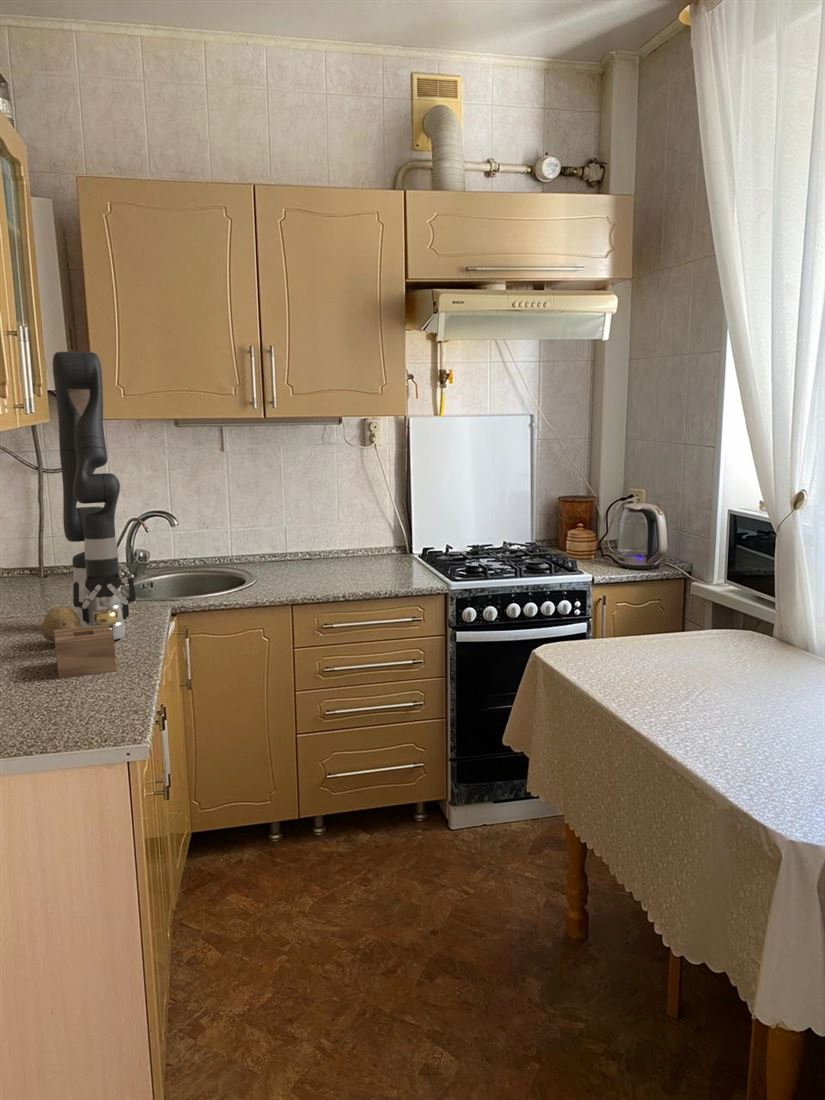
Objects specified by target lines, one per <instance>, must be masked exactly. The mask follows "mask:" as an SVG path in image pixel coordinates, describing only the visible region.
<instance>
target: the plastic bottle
mask: <svg viewBox="0 0 825 1100" xmlns="http://www.w3.org/2000/svg"><path fill="white" fill-rule="evenodd" d="M121 586H122V584H121V585H120V587H119V588H118V590H119V591H120V592H122V589H121V588H122V587H121ZM98 604H99V610H104V609H116V610H118V623H116V624H113V631H114V641H117V640H118V639H119V640H120V639H122V638H124V636H125V634H126V626H125V623H124V620H123V616H122V602H121V601H120V600H119V599H118V598H117V597H116V596H115V595H113V596H112V597H102V598H98Z"/></svg>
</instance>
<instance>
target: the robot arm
mask: <svg viewBox="0 0 825 1100" xmlns="http://www.w3.org/2000/svg"><path fill="white" fill-rule="evenodd" d="M102 372H103V371H102V364H101V360H100V357H99V356H98V354H97V353H95V352H92V351H90V352H89V351H57V352H55V353H54V354H53V357H52V374H53V384H54V389H55V390H54V391H55V398H56V399H55V400H56V407H57V416H58V438H59V439H58V440H59V441H58V442H59V444H58V445H59V459H60V467H61V476H62V477H61V478H62V488H63V489H62V490H63V491H62V492H63V498H62V499H63V501H62V503H63V504H62V505H63V506H62V507H63V510H62V511H63V515H62V516H63V517H62V518H63V521H62V522H63V531H64V532H63V533H64V536H65V539H66V540H67V541H69V542H71V543H72V542H73V543H75V542H77V543H78V542H79V543H81V542H84V548H83V549H84V550H83V551H82V552H80V553H78V554H75V555H74V556H73V557H72V559H71V560H72V561H71V563H72V574H73V582H72V605H73V607H74V608H75V613H76V614H77V616H78V618H79V622H80V627H89V626H98V625H95V624H94V614H93V612H95V611H98V610H99V604H98V598H102V597H112V596H113V595H115V596H116V597H117V598H118V599H119V600H120V601H121V612H122V618H123V621H124V620H126V621H127V618H128V617H129V615H130V613H129V612H130V611H129V610H130V609H129V605H130V604H131V603H132V602H135V601H136V600H137V597H136V591H135V584H134V578H133V577H132V576H127V577H124V578H121V576H120V567H119V566H120V565H119V550H118V545H117V537H116V526H115V519H116V518H115V516H116V510H117V509H116V508H117V503H118V498H119V495H120V490H121V485H120V484H121V483H120V481H119V478H118V477H117V476H116V475H115V474H114V473H111V472H109V473H107V472H106V473H95V471H96V469H98V468H101V467H103V466H105V465H106V464H107V462H108V452H107V445H106V438H105V429H104V394H103V393H104V391H103V390H104V389H103V373H102ZM71 390H72V391H73V390H75V391H77V390H78V391H79V390H83V391H84V390H89V396H88V397H89V398H88V402H87V404H86V406H85V409H84V410H83V413H80V412H79V411H78V409H77V407H76V406H75V404H74V402H73V400H72V399H71V396H70V391H71ZM78 503H79V504H84V505H85V504H103V503H104V505H103V507H102V506H85V507H84V506H83V507H81V506H80V507H79V506H78V507H77V504H78ZM122 584H124V586H125V587H127V589H128V595H129V596H127V597H125V595H124V594H123V593H121V592H122V591H121V592H120V591H119V590H118V588H119V587H120V585H121V586H122Z"/></svg>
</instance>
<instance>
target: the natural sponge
mask: <svg viewBox="0 0 825 1100" xmlns="http://www.w3.org/2000/svg"><path fill="white" fill-rule="evenodd" d="M79 627H80V622H79V618H78V616H77V613H76V611H75V610H73V609H72V608H71V607H68V606H64V605H62V606H61V605H59V606H55V607H54V608H51V609H50V610H49V611H48V612H47V614H46V615H45V617H44V619H43V622H42V624H41V627H40V634H41V636H42V638H44V639H46V640H48V641H50V642H52V643H54V644H55V636H54V630H61V629H70V628H79Z"/></svg>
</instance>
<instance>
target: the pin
mask: <svg viewBox="0 0 825 1100" xmlns="http://www.w3.org/2000/svg"><path fill="white" fill-rule="evenodd" d="M93 614H94V624H95V625H107V624H109V627H110V629H111V631H112V634H113V636H114V631H113V624H116V623H118V610H116V609H104V610H98V611H95V612H93ZM114 646H116V645H115V644H114Z"/></svg>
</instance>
